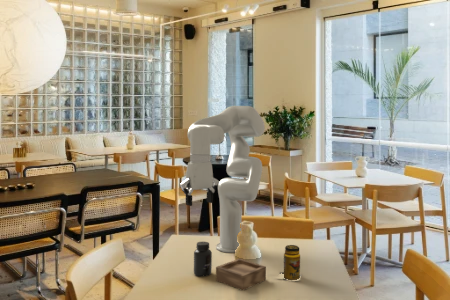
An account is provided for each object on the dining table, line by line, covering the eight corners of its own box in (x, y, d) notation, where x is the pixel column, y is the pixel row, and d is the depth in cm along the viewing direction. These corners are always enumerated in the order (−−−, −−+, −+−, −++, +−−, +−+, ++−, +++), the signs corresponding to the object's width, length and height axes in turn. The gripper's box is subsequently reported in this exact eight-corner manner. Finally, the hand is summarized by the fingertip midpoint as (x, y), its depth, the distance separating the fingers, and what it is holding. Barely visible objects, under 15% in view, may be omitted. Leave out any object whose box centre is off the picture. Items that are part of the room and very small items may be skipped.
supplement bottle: (209, 277, 184) (209, 246, 183) (191, 276, 185) (191, 245, 184) (213, 271, 191) (213, 241, 189) (196, 269, 192) (196, 240, 191)
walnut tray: (239, 271, 191) (239, 258, 190) (265, 280, 182) (266, 266, 181) (216, 280, 181) (216, 266, 180) (242, 290, 172) (242, 276, 172)
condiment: (299, 282, 180) (299, 250, 179) (276, 279, 183) (276, 248, 181) (302, 275, 187) (302, 244, 186) (280, 272, 190) (280, 242, 188)
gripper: (212, 156, 193) (211, 200, 195) (175, 159, 182) (174, 204, 184) (224, 158, 187) (223, 203, 189) (186, 161, 177) (186, 208, 178)
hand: (199, 203), depth 186 cm, fingers open, 9 cm apart
